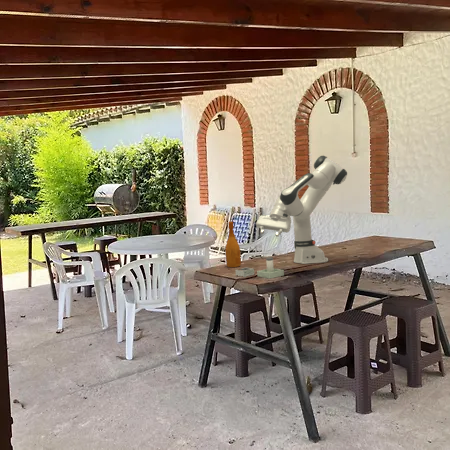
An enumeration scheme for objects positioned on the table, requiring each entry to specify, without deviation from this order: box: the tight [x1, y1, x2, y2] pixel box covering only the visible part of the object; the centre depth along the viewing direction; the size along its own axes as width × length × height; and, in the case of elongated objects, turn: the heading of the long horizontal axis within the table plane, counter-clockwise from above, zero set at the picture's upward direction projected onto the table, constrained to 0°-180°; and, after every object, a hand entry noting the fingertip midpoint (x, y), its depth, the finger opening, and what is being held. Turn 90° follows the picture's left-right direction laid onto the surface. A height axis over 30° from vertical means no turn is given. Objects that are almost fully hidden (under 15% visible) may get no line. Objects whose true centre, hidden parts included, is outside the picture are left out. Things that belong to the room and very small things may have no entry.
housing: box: [235, 266, 255, 278], centre depth 308 cm, size 8×8×4 cm
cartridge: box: [265, 257, 275, 273], centre depth 299 cm, size 4×4×10 cm
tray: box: [256, 268, 285, 279], centre depth 300 cm, size 11×11×3 cm
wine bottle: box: [224, 221, 242, 268], centre depth 337 cm, size 10×10×30 cm
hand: (269, 234), depth 296 cm, fingers open, 8 cm apart
